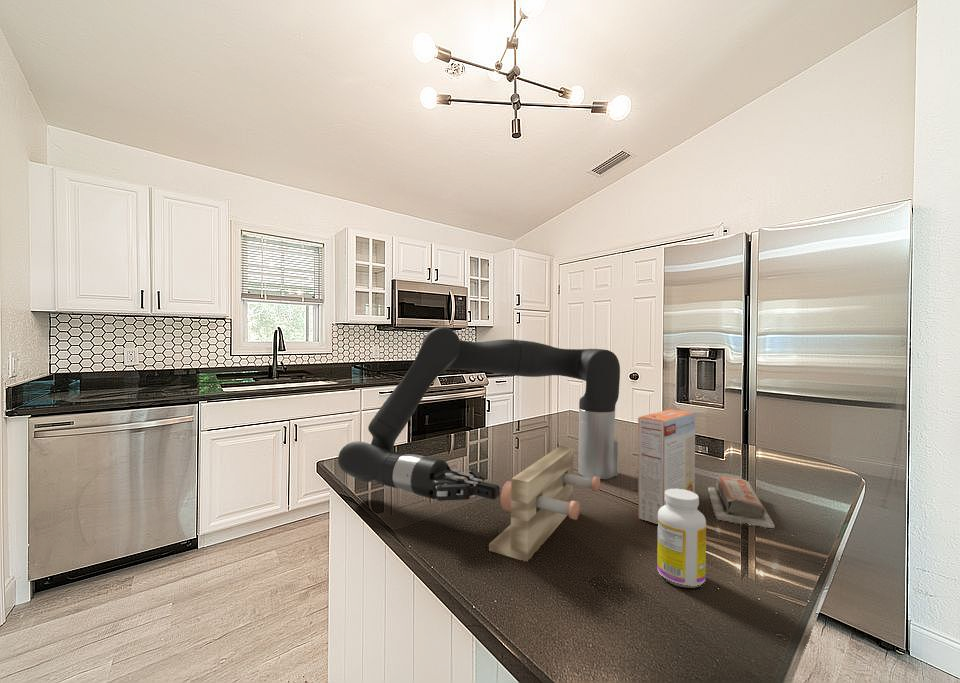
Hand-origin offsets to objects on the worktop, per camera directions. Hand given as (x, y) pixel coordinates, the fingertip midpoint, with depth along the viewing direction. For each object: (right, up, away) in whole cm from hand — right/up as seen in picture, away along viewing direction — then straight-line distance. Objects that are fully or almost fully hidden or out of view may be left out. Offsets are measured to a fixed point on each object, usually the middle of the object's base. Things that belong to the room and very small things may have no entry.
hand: (497, 492), depth 75 cm
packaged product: (+52, -9, +15) cm, 55 cm away
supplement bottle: (+27, -9, -12) cm, 31 cm away
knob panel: (+7, -8, +4) cm, 12 cm away
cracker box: (+35, -9, +11) cm, 38 cm away
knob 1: (+7, -3, -4) cm, 9 cm away
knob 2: (+14, -3, +8) cm, 16 cm away
